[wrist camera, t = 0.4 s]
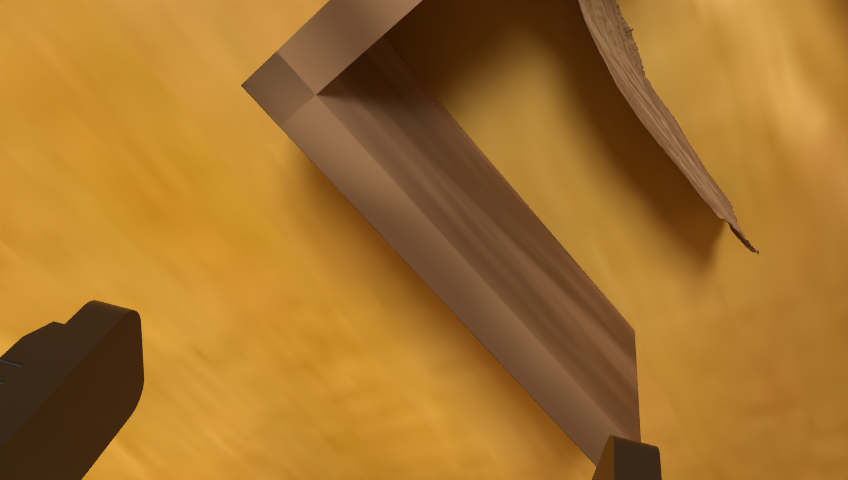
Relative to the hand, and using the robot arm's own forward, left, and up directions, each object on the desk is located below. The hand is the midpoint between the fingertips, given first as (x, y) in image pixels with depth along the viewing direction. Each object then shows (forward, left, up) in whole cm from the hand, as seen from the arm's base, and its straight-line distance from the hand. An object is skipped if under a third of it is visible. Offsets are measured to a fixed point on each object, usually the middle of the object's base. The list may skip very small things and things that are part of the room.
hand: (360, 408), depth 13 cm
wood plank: (-4, +5, -25) cm, 26 cm away
